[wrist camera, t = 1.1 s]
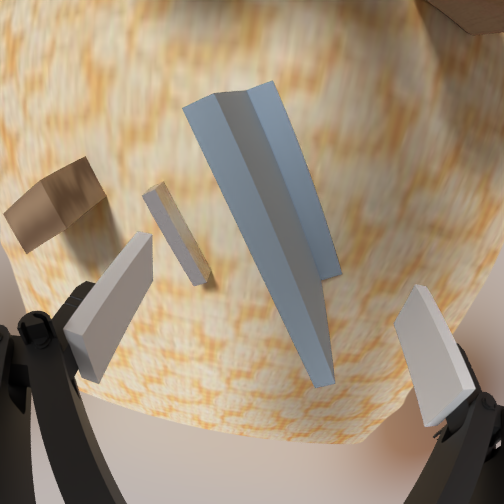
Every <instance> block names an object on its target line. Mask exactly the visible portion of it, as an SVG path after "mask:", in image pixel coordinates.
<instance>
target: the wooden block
mask: <svg viewBox="0 0 504 504" xmlns="http://www.w3.org/2000/svg"><path fill="white" fill-rule="evenodd" d="M426 1H428V2H429V3H431V4H432V5H433V6H435V7H436V8H437V9H439V10H440V11H441V12H443V13H444V14H445V15H447V16H448V17H449V18H451V19H452V20H453V21H454V22H456V23H457V24H458V25H459V26H460V27H462V28H463V29H464V30H465V31H466V32H468V33H470V34H472V35H480V34H489V33H500V32H504V0H426Z"/></svg>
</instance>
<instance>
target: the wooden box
mask: <svg viewBox="0 0 504 504" xmlns="http://www.w3.org/2000/svg"><path fill="white" fill-rule="evenodd" d="M105 197H106V194H105V192H104V191H103V189H102V187H101V185H100V183H99V181H98V179H97V177H96V176H95V174H94V172H93V170H92V168H91V166H90V164H89V162H88V160H87V158H86V156H85V157H83V158H81V159H79V160H77V161H75V162H73V163H71V164H69V165H67V166H65V167H64V168H62V169H60V170H58V171H56V172H54V173H52V174H51V175H49V176H47V177H45V178H43V179H42V180H40V181H39V182H38V183H36V184H35V185H34V186H33V187H32V188H31V189H30V190H28V191H27V192H26V193H25V194H24V195H23V196H22V197H21V198H20V199H18V200H17V201H16V202H15V203H14V204H13V205H12V206H11V207H10V208H9V209H8V210H7V211H6V212H5V213H4V216H5V218H6V220H7V222H8V223H9V225H10V227H11V229H12V231H13V232H14V234H15V236H16V238H17V239H18V241H19V243H20V244H21V246H22V248H23V249H24V251H25V252H26V254H27V253H29V252H30V251H32V250H34V249H35V248H37V247H38V246H40V245H41V244H43V243H44V242H46V241H48V240H49V239H51V238H52V237H54V236H56V235H57V234H59V233H60V232H62V231H64V230H65V229H67V228H68V227H69V226H70V225H72V224H73V223H74V222H75V221H76V220H78V219H79V218H80V217H81V216H82V215H84V214H85V213H86V212H87V211H88V210H90V209H91V208H92V207H93V206H95V205H96V204H97V203H99V202H100V201H101V200H102V199H104V198H105Z"/></svg>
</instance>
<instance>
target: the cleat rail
mask: <svg viewBox="0 0 504 504" xmlns="http://www.w3.org/2000/svg"><path fill="white" fill-rule="evenodd" d="M142 197H143V199H144V201H145V203H146V204H147V206H148V208H149V210H150V212H151V213H152V215H153V217H154V219H155V221H156V222H157V224H158V226H159V228H160V230H161V231H162V233H163V235H164V237H165V238H166V240H167V242H168V244H169V245H170V247H171V249H172V250H173V252H174V254H175V256H176V257H177V259H178V261H179V262H180V264H181V266H182V267H183V269H184V271H185V272H186V274H187V276H188V277H189V279H190V281H191V282H192V284H193V285H194V286H197V285H200V284H204V283H207V280H208V278H209V275H210V272H211V269H210V267H209V265H208V263H207V262H206V260H205V258H204V256H203V254H202V253H201V251H200V249H199V247H198V245H197V243H196V242H195V240H194V238H193V236H192V234H191V232H190V231H189V229H188V227H187V225H186V223H185V221H184V219H183V218H182V216H181V214H180V212H179V210H178V208H177V206H176V204H175V202H174V201H173V199H172V197H171V195H170V193H169V191H168V189H167V187H166V185H165V183H164V181H163V182H161V183H159V184H157V185H155V186H153V187H151V188H150V189H149V190H148V191H146V192H145V193H144V194H143V195H142Z"/></svg>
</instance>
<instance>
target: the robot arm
mask: <svg viewBox="0 0 504 504" xmlns="http://www.w3.org/2000/svg"><path fill="white" fill-rule="evenodd" d="M152 282H153V258H152V234H149V233H144V232H139V231H138V232H137V233H136V234H135V235H134V236H133V237H132V239H131V240H130V241H129V242H128V243H127V245H126V246H125V247H124V248H123V250H122V251H121V252H120V253H119V254H118V256H117V257H116V258H115V259H114V261H113V262H112V263H111V264H110V266H109V267H108V268H107V270H106V271H105V272H104V273H103V275H102V276H101V277H100V279H99V280H98V281H97V283H92V282H88V281H85V282H84V283H82V284H81V285H79V286H78V287H76V288H75V290H74V291H73V292H72V293H71V295H70V297H68V299H67V300H66V301H65V304H63V305H62V306H61V308H60V309H59V310H58V312H57V313H56V314H55V316H54V317H53V318H52V320H51V318H50V316H49V315H48V314H47V313H45V312H42V311H32V312H30V313H27V314H26V315H24V316H23V317H22V318H21V320H20V321H19V323H18V328H17V329H18V331H19V333H20V336H14V335H10V333H9V331H8V329H7V328H6V327H5V326H3V325H0V504H36V501H35V493H34V485H33V475H32V461H31V435H30V420H31V418H30V417H31V393H32V396H33V401H34V405H35V410H36V415H37V419H38V423H39V427H40V431H41V435H42V439H43V442H44V446H45V449H46V452H47V455H48V459H49V462H50V465H51V468H52V471H53V473H54V476H55V479H56V482H57V484H58V487H59V489H60V492H61V495H62V497H63V500H64V502H65V504H127V503H126V501H125V500H124V498H123V496H122V494H121V492H120V490H119V488H118V486H117V484H116V482H115V480H114V478H113V476H112V474H111V472H110V470H109V468H108V465H107V463H106V461H105V459H104V457H103V454H102V452H101V450H100V447H99V445H98V442H97V440H96V438H95V435H94V433H93V430H92V427H91V425H90V422H89V419H88V416H87V414H86V411H85V408H84V405H83V402H82V399H81V396H80V393H79V389H78V386H77V383H76V380H75V377H74V376H75V374H76V373H77V371H78V369H79V372H80V374H81V377H82V378H84V379H87V380H89V381H92V382H95V383H98V384H99V383H100V381H101V379H102V377H103V375H104V373H105V371H106V368H107V366H108V364H109V362H110V360H111V358H112V356H113V354H114V352H115V350H116V349H117V347H118V345H119V343H120V341H121V339H122V337H123V335H124V333H125V331H126V329H127V327H128V325H129V324H130V322H131V320H132V318H133V316H134V314H135V312H136V311H137V309H138V307H139V305H140V303H141V301H142V300H143V298H144V296H145V294H146V292H147V291H148V289H149V287H150V285H151V284H152ZM394 326H395V329H396V332H397V335H398V338H399V341H400V344H401V347H402V350H403V353H404V356H405V359H406V362H407V365H408V368H409V372H410V375H411V378H412V382H413V385H414V389H415V392H416V395H417V399H418V403H419V407H420V410H421V414H422V418H423V422H424V426H425V427H429V426H437V425H439V424H440V423H441V422H442V421H443V420H444V419H445V418H446V420H447V424H446V425H445V426H444V427H443V428H442V429H441V430H440V431H438V432H437V433H436V434H435V435H434V436H433V438H435V437H437V436H438V435H439V434H440V436H439V438H438V439H437V440H438V441H437V443H436V445H435V447H434V449H433V451H432V453H431V455H430V457H429V459H428V461H427V463H426V465H425V467H424V469H423V471H422V473H421V474H420V477H419V478H418V480H417V482H416V483H415V485H414V487H413V489H412V490H411V492H410V494H409V496H408V497H407V499H406V500H405V502H404V504H504V406H500V405H497V403H496V401H495V399H494V398H493V396H491V395H490V394H489V393H487V392H482V390H481V388H480V385H479V383H478V380H477V378H476V376H475V373H474V371H473V369H472V368H471V364H470V362H468V358H467V356H466V353H465V351H464V350H463V349H462V348H461V346H460V345H459V344H457V343H456V342H455V340H454V338H453V336H452V334H451V332H450V330H449V328H448V326H447V324H446V322H445V320H444V318H443V316H442V314H441V312H440V310H439V308H438V306H437V304H436V302H435V301H434V299H433V297H432V295H431V293H430V291H429V290H428V288H427V286H422V285H417V284H415V286H414V287H413V289H412V291H411V293H410V295H409V297H408V299H407V301H406V302H405V304H404V306H403V308H402V310H401V311H400V313H399V315H398V317H397V318H396V320H395V322H394ZM500 440H501V446H500V447H498V448H497V449H496V444H497V443H498V442H499V441H500Z"/></svg>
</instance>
